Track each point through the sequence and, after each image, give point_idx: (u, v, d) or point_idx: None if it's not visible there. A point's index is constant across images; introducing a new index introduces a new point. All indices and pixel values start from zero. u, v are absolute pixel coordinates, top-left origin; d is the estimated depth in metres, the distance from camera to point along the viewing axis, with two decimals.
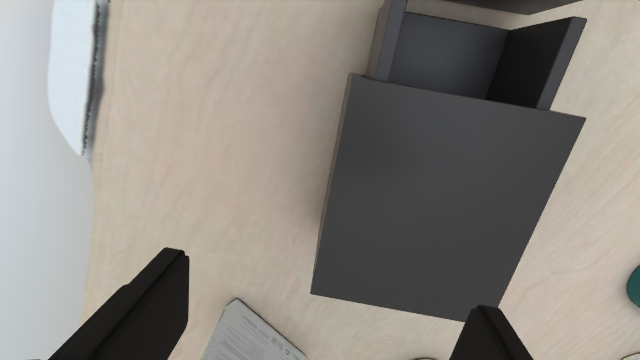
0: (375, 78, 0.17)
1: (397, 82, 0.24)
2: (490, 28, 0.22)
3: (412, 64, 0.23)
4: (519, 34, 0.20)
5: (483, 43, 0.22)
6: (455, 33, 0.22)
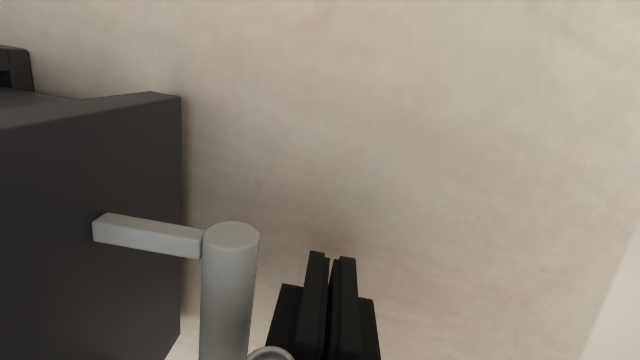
0: None
1: None
2: None
3: None
4: None
5: None
6: None
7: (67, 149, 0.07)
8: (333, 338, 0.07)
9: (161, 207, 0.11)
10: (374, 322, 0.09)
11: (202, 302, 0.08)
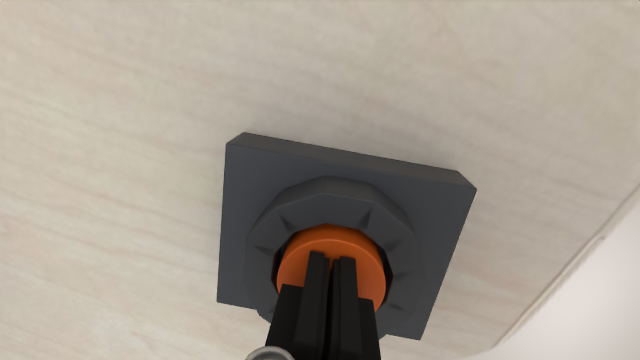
0: None
1: None
2: None
3: None
4: None
5: None
6: None
7: None
8: (333, 338, 0.07)
9: None
10: (374, 322, 0.09)
11: None
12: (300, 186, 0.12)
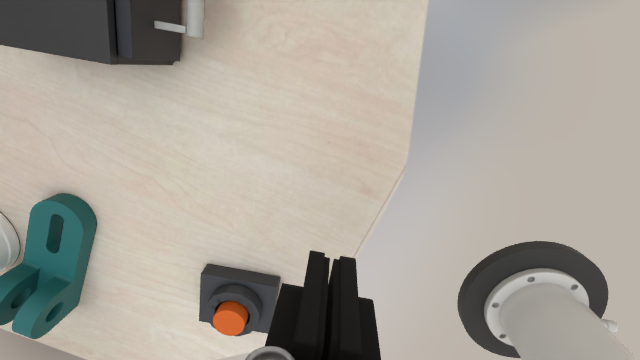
0: None
1: None
2: None
3: None
4: None
5: None
6: None
7: None
8: (333, 338, 0.07)
9: None
10: (374, 322, 0.09)
11: None
12: (223, 286, 0.40)
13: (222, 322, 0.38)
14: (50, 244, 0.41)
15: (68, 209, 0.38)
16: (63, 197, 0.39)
